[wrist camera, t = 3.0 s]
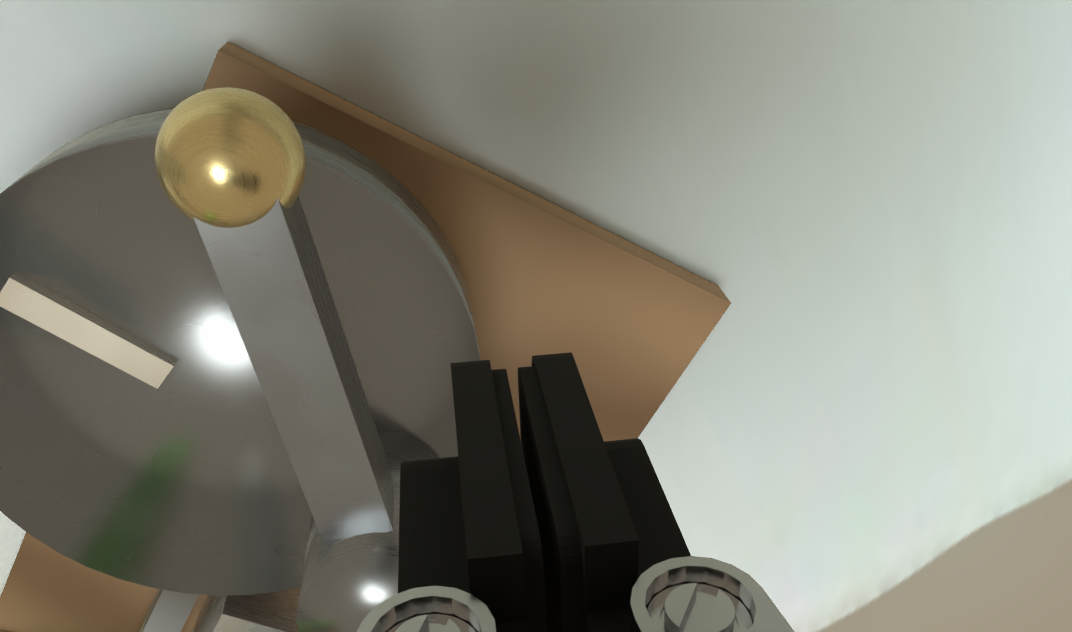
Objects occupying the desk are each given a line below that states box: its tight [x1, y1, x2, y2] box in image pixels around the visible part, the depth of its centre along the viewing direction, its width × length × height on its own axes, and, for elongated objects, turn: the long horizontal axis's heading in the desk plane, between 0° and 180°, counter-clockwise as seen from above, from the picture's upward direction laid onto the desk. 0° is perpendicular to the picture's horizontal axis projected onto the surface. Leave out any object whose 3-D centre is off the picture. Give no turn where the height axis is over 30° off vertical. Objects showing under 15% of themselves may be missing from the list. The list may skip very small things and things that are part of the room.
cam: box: [0, 87, 480, 632], centre depth 19 cm, size 12×13×8 cm
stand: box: [0, 42, 731, 632], centre depth 26 cm, size 23×15×5 cm, turn 151°
